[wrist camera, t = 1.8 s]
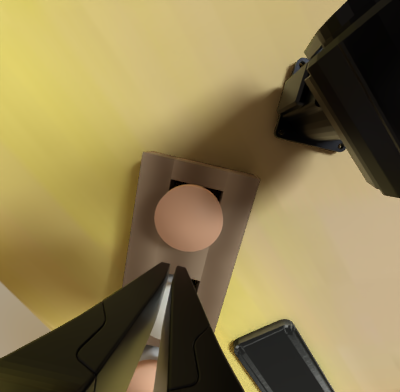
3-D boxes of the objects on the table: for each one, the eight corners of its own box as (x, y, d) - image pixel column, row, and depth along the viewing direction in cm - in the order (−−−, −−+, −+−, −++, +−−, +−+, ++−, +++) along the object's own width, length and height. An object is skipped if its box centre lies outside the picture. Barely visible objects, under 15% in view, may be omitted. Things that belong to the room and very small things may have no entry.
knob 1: (186, 339, 22) (181, 377, 19) (177, 373, 23) (171, 415, 20) (141, 329, 22) (127, 365, 18) (134, 363, 23) (120, 404, 20)
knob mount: (252, 174, 19) (260, 179, 16) (195, 371, 25) (193, 399, 23) (152, 151, 19) (142, 151, 16) (119, 353, 25) (108, 380, 22)
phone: (291, 321, 22) (344, 409, 25) (287, 313, 23) (338, 398, 26) (229, 347, 23) (286, 428, 26) (228, 339, 25) (283, 417, 27)
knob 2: (226, 185, 18) (231, 195, 14) (213, 237, 19) (214, 258, 16) (170, 173, 18) (160, 179, 14) (160, 225, 19) (149, 243, 15)
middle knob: (204, 270, 20) (203, 298, 16) (193, 312, 21) (190, 346, 18) (154, 259, 20) (141, 284, 16) (146, 301, 21) (133, 333, 18)
